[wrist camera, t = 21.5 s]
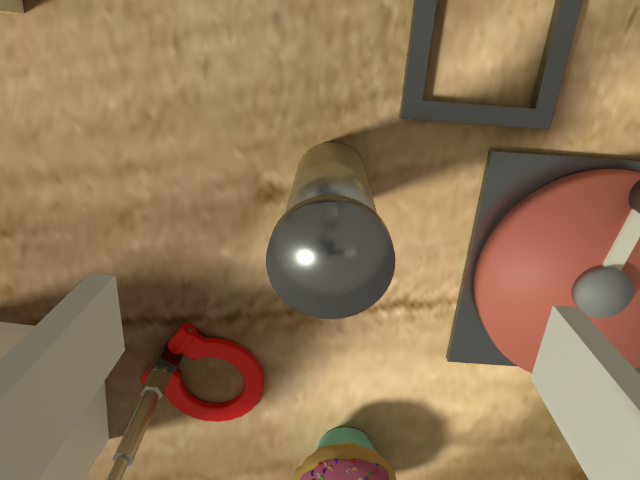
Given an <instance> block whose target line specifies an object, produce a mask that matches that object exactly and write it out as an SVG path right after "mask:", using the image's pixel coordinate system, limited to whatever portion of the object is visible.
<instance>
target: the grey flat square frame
mask: <svg viewBox="0 0 640 480" xmlns="http://www.w3.org/2000/svg"><path fill="white" fill-rule="evenodd" d="M581 3H582V0H556V1H555V5H554V9H553V14H552V18H551V22H550V27H549V31H548V35H547V39H546V44H545V48H544V52H543V56H542V61H541V65H540V69H539V74H538V78H537V82H536V86H535V91H534V95H533V99H532V104H531V107H518V106H504V105H490V104H476V103H462V102H448V101H434V100H423V94H424V87H425V80H426V73H427V66H428V59H429V53H430V46H431V39H432V32H433V25H434V18H435V11H436V5H437V0H414V8H413V16H412V23H411V31H410V39H409V47H408V54H407V62H406V70H405V78H404V85H403V93H402V101H401V109H400V116H399V117H400V118H401V119H410V120H424V121H439V122H453V123H467V124H481V125H495V126H509V127H523V128H537V129H550V126H551V122H552V118H553V114H554V110H555V106H556V102H557V98H558V94H559V90H560V86H561V82H562V78H563V74H564V70H565V67H566V63H567V59H568V55H569V51H570V47H571V43H572V39H573V35H574V31H575V27H576V23H577V19H578V15H579V11H580V7H581Z"/></svg>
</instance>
